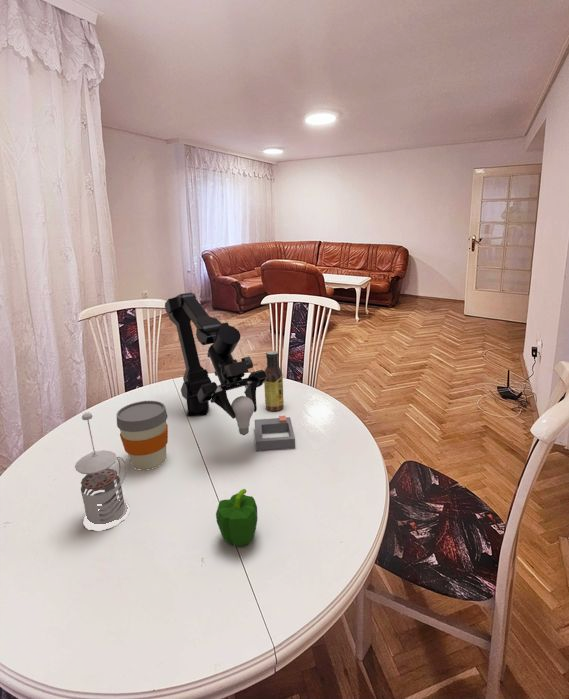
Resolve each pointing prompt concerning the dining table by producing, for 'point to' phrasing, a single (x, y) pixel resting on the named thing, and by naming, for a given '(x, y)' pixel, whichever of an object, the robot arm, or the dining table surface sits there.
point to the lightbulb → (243, 413)
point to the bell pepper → (237, 519)
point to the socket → (273, 427)
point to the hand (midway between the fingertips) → (245, 414)
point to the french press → (101, 485)
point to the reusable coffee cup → (144, 433)
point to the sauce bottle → (273, 383)
